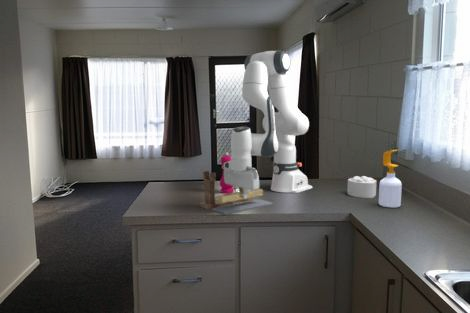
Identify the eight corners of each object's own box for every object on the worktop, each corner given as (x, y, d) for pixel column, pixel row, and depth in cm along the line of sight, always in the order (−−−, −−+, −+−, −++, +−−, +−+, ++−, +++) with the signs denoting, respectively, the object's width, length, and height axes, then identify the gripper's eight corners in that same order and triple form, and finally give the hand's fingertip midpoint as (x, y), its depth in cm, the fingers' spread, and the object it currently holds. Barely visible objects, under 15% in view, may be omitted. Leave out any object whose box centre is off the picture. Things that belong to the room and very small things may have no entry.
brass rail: (258, 194, 194) (258, 188, 193) (262, 195, 191) (262, 189, 191) (218, 201, 180) (217, 195, 180) (222, 202, 178) (222, 196, 178)
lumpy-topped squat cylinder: (372, 198, 202) (372, 180, 200) (344, 195, 208) (345, 177, 207) (377, 194, 211) (378, 176, 209) (350, 191, 217) (351, 174, 216)
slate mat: (259, 200, 198) (259, 199, 198) (272, 204, 191) (272, 202, 191) (212, 210, 183) (212, 208, 183) (225, 214, 176) (225, 212, 176)
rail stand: (243, 197, 205) (243, 166, 203) (252, 200, 200) (252, 167, 198) (198, 205, 190) (198, 172, 188) (207, 209, 185) (207, 174, 183)
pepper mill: (232, 194, 212) (232, 153, 209) (218, 193, 213) (217, 153, 211) (235, 190, 219) (235, 151, 216) (221, 190, 220) (221, 151, 218)
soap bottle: (390, 208, 183) (392, 151, 180) (374, 204, 191) (376, 148, 188) (405, 206, 187) (408, 149, 184) (388, 201, 195) (391, 147, 192)
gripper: (263, 167, 178) (262, 200, 179) (232, 161, 194) (232, 192, 196) (251, 169, 174) (251, 203, 176) (221, 163, 190) (221, 194, 192)
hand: (241, 197), depth 186 cm, fingers closed on brass rail, 3 cm apart
